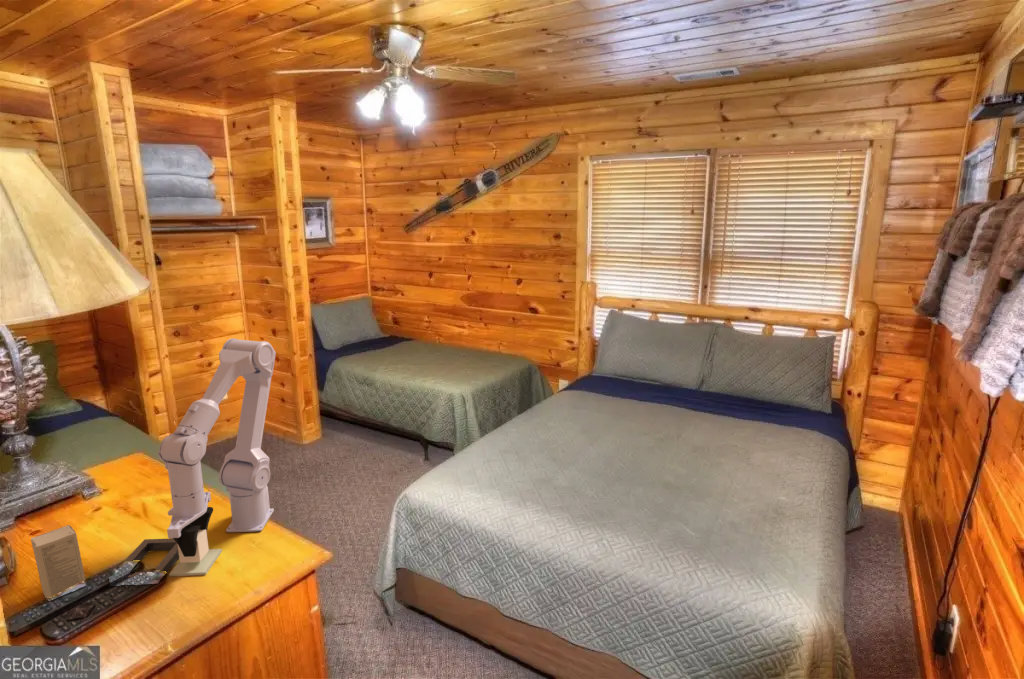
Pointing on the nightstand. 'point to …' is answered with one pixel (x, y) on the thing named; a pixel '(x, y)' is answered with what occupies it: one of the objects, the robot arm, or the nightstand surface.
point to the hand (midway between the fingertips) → (194, 549)
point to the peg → (200, 551)
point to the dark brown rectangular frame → (156, 546)
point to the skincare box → (58, 560)
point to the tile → (196, 565)
